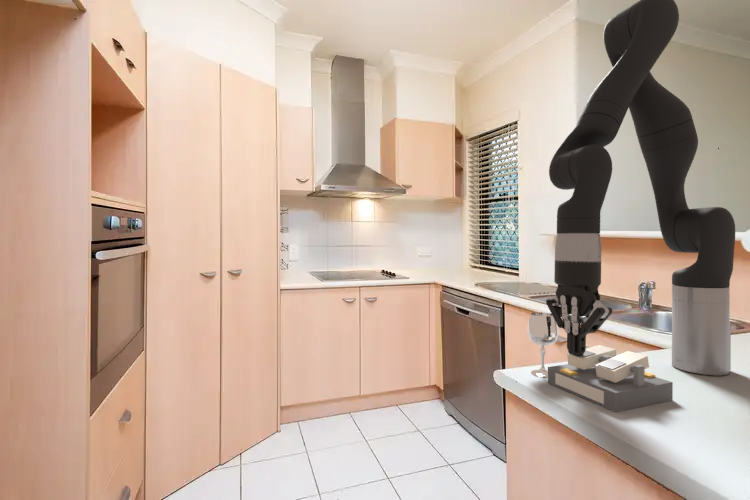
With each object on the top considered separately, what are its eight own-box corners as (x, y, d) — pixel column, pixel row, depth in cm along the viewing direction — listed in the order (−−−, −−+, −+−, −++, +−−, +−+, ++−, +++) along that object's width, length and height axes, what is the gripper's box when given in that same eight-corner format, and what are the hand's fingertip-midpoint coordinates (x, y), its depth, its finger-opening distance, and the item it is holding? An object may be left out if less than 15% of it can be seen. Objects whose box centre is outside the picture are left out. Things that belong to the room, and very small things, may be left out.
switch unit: (599, 374, 79) (599, 343, 79) (672, 400, 66) (672, 363, 66) (547, 382, 75) (547, 350, 75) (614, 412, 62) (614, 372, 62)
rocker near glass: (598, 354, 77) (597, 343, 77) (618, 360, 73) (618, 349, 72) (566, 363, 74) (565, 352, 74) (586, 370, 70) (585, 358, 70)
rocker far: (627, 360, 71) (625, 349, 71) (651, 367, 67) (649, 355, 67) (594, 375, 68) (592, 363, 68) (618, 383, 64) (615, 371, 64)
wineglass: (561, 379, 77) (561, 317, 77) (530, 377, 78) (530, 316, 78) (554, 370, 82) (554, 312, 82) (525, 368, 84) (525, 311, 83)
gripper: (626, 260, 67) (625, 362, 67) (564, 258, 79) (563, 344, 79) (593, 260, 64) (591, 367, 64) (534, 257, 77) (533, 347, 77)
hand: (575, 354), depth 72 cm, fingers closed
